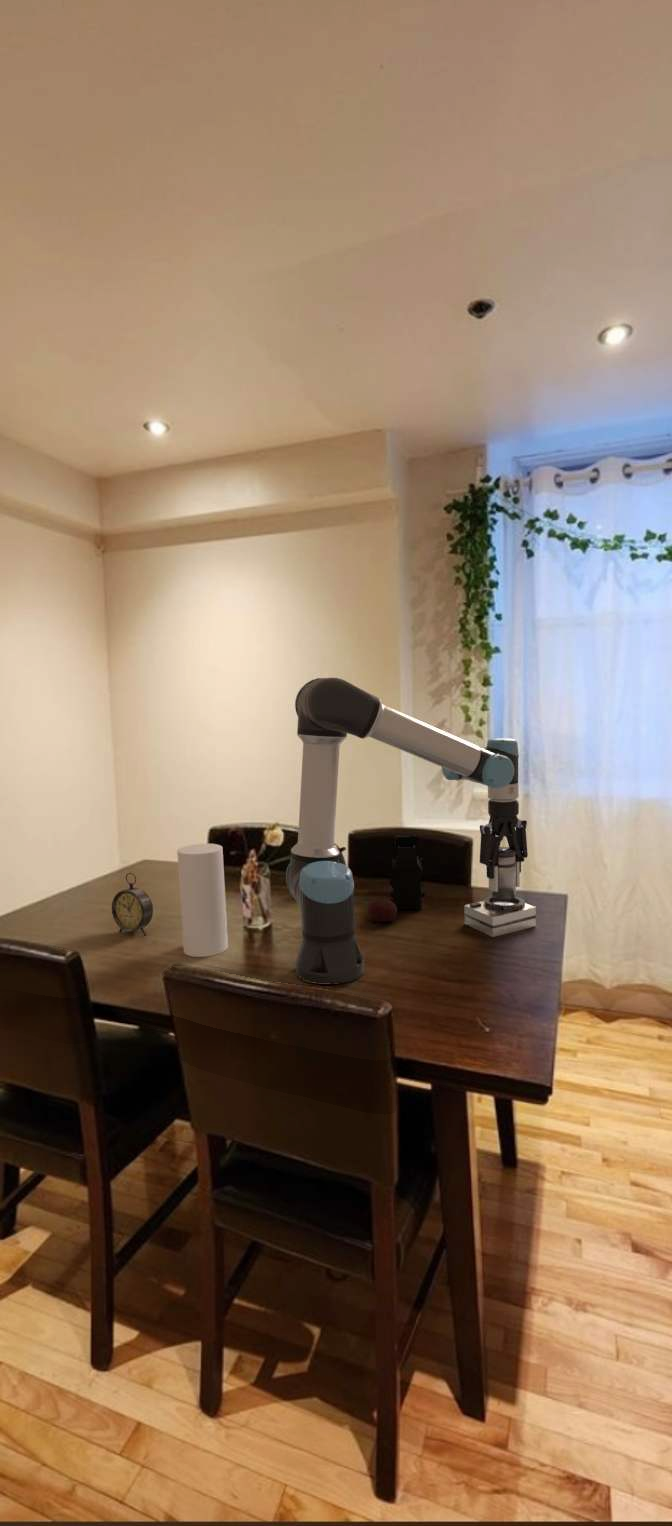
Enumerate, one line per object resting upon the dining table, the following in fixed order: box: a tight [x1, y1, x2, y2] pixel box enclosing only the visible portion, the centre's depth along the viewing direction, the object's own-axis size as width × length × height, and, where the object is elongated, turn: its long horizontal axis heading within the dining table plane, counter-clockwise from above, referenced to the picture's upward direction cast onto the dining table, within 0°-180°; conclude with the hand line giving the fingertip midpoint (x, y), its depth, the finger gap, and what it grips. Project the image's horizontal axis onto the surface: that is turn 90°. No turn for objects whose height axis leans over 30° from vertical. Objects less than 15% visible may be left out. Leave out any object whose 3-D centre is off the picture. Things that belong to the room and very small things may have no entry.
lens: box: [491, 846, 517, 899], centre depth 173 cm, size 6×6×12 cm
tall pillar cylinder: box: [176, 843, 229, 958], centre depth 164 cm, size 11×11×25 cm
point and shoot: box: [463, 895, 537, 938], centre depth 173 cm, size 14×11×6 cm
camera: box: [389, 834, 426, 910], centre depth 193 cm, size 10×14×20 cm
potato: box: [367, 898, 398, 923], centre depth 179 cm, size 7×8×6 cm
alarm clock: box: [111, 872, 154, 937], centre depth 177 cm, size 11×5×16 cm, turn 64°
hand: (504, 887), depth 173 cm, fingers closed on lens, 6 cm apart
